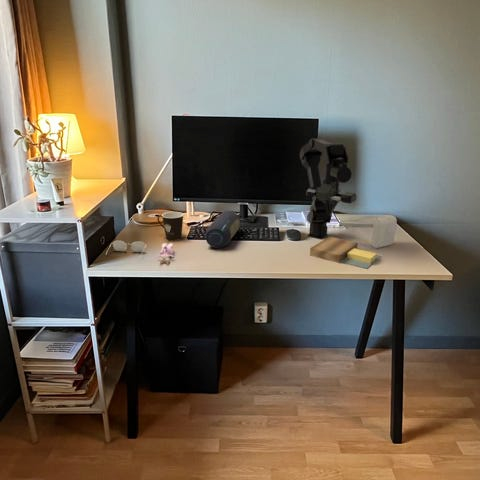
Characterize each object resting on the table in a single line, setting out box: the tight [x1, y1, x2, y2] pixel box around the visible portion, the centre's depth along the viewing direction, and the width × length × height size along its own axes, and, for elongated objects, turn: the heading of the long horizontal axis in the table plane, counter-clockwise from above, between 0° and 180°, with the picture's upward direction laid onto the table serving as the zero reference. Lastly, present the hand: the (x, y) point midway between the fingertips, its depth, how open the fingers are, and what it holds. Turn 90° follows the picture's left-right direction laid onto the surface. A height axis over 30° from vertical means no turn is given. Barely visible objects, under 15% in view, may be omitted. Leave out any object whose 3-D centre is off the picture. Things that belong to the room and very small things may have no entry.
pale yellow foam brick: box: [347, 248, 378, 264], centre depth 172 cm, size 9×6×2 cm, turn 54°
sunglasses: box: [105, 240, 147, 258], centre depth 174 cm, size 14×8×5 cm, turn 83°
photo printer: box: [371, 214, 398, 249], centre depth 184 cm, size 10×4×12 cm, turn 123°
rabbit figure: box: [156, 242, 175, 266], centre depth 172 cm, size 6×6×15 cm
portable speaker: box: [204, 210, 242, 249], centre depth 190 cm, size 25×10×10 cm, turn 167°
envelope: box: [334, 213, 378, 228], centre depth 214 cm, size 24×2×14 cm
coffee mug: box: [157, 211, 184, 242], centre depth 192 cm, size 12×9×10 cm
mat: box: [340, 254, 382, 270], centre depth 172 cm, size 10×14×1 cm
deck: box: [309, 236, 359, 264], centre depth 178 cm, size 12×16×3 cm
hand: (329, 216), depth 182 cm, fingers closed
